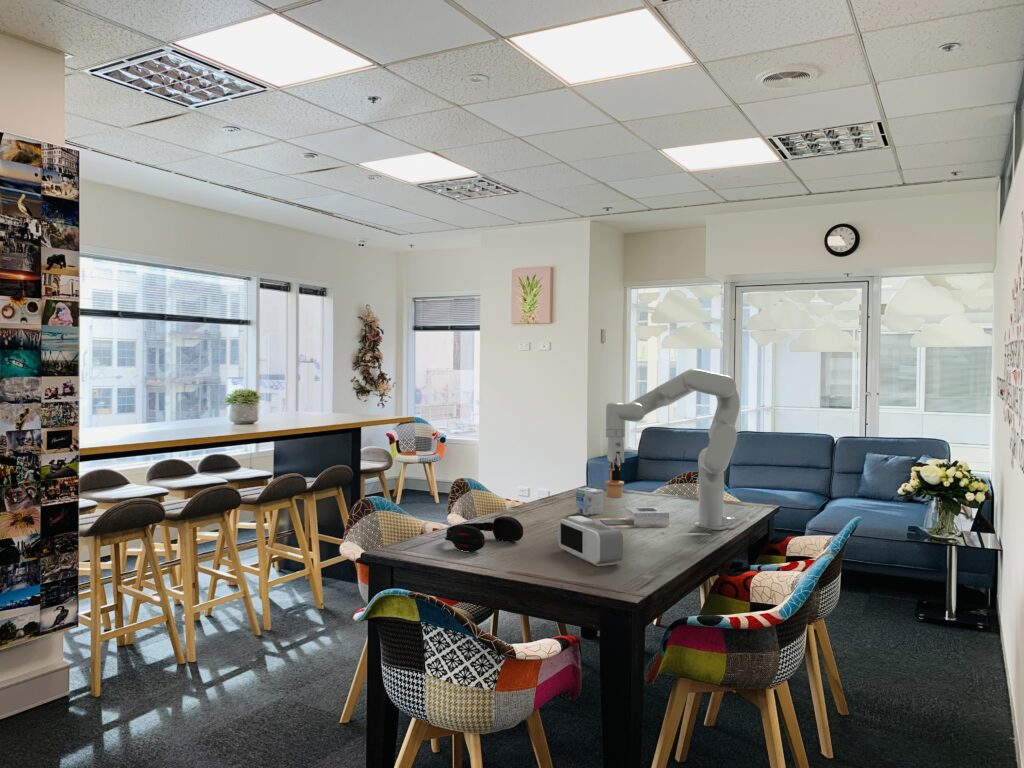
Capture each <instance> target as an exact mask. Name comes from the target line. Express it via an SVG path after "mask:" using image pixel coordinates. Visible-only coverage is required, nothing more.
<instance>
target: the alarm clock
mask: <svg viewBox="0 0 1024 768" xmlns="http://www.w3.org/2000/svg"><path fill="white" fill-rule="evenodd" d="M557 527H558V537H557V540H558V546H559V547H560V548H561V549H562V550H564V551H565V552H566V551H567V552H566V553H569V554H571V555H573V556H575V557H577V558H579V559H581V560H583V561H586V562H588V563H591V564H592V565H594V566H596V567H600V566H601V567H602V566H612V565H617V564H618V562H621V561H623V557H624V535H623V532H622V531H621V530H620V529H618V528H613V527H610V526H607V525H604V524H602V523H599V522H596V521H593V519H591V518H588V517H586V516H584V515H583V516H582V515H571V516H568V517H567V518H561V519H560V520H559V521H558V526H557Z"/></svg>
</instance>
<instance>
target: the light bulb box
mask: <svg viewBox="0 0 1024 768" xmlns="http://www.w3.org/2000/svg"><path fill="white" fill-rule="evenodd" d="M575 492H576V495H575V497H576V498H575V499H576V500H575V502H576V503H575V506H576V507H575V513H576V514H578V515H579V514H580V515H583V516H589V517H590V515H602V514H604V489H599V488H592V487H588V486H586V487H578V488H576V489H575Z"/></svg>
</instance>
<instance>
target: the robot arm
mask: <svg viewBox="0 0 1024 768" xmlns="http://www.w3.org/2000/svg"><path fill="white" fill-rule="evenodd" d="M693 392H699V393H702V394H706V395H711V396H715V397H716V402H717V405H716V409H715V413H714V416H713V419H712V421H711V424H710V427H709V429H708V438H709V442H708V445H707V446H706V447H705V448H703V449H701V451H700V453H699V455H698V458H697V461H698V463H697V465H698V466H697V467H698V521H696V522H695V523H694V525H695V526H697V527H700V528H705V529H707V530H709V531H721V530H727V529H728V526H729V525H728V524H729V523H731V524H732V523H733V524H734V523H736V521H737V520H736V517H728V516H725V515H724V512H725V511H724V510H725V509H724V506H725V504H724V503H725V502H724V500H725V498H724V494H725V493H724V492H725V491H724V489H725V478H724V477H725V475H724V472H725V471H726V470H727V468H728V466H729V463H730V461H731V459H732V455H733V452H734V450H735V447H736V444H737V439H738V432H737V429H736V427H735V426H736V423H737V419H738V415H739V413H740V412H739V411H740V407H741V401H740V396H739V393H738V391H737V384H736V381H735V380H734V378H732V377H731V376H729V375H725V374H720V373H715V372H710V371H707V370H702V369H699V368H690V369H687V370H685V371H684V372H682V373H679V374H678V375H676V376H674V377H673V378H671V379H669V380H667V381H665V382H664V383H662V384H660V385H658V386H657V387H655V388H653V389H652V390H651V391H649V392H647V393H644V394H643V395H641V396H639V397H637V398H635V399H634V400H632V401H631V402H629V403H623V402H608V403H607V404H606V407H605V438H607V449H606V453H607V454H606V458H607V461H609V467H608V468H609V471H608V473H609V474H608V479H609V480H610V469H613V470H612V480H613V481H621V464H623V463H625V441H624V439H625V438H626V429H625V428H626V421H627V422H628V421H629V422H633V423H638V422H640V421H642V420H643V419H644V417H645V416H646V415H648V414H651V413H652V412H653V411H655V410H657V409H660V408H663V407H667V406H670V405H672V404H674V403H676V402H677V401H679V400H681V399H683V398H684V397H687V396H688V395H690V394H691V393H693Z"/></svg>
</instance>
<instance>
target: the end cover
mask: <svg viewBox="0 0 1024 768" xmlns="http://www.w3.org/2000/svg"><path fill="white" fill-rule="evenodd" d="M609 469H610V468H609ZM612 470H613V469H610V479H609V480H605V481H604V484H605V485H606V498H609V499H621V498H623V486H624V485H625V481H624V480H620V481H613V480H612Z"/></svg>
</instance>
